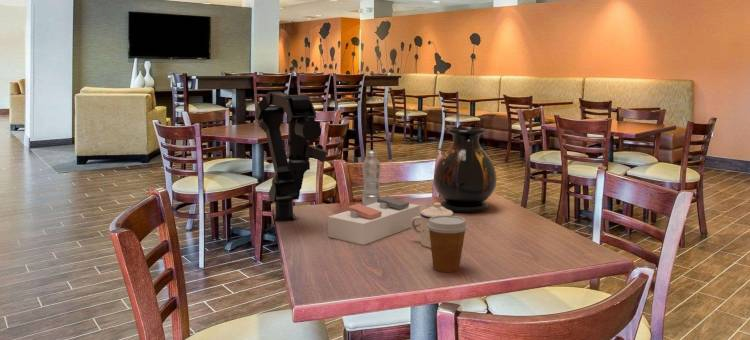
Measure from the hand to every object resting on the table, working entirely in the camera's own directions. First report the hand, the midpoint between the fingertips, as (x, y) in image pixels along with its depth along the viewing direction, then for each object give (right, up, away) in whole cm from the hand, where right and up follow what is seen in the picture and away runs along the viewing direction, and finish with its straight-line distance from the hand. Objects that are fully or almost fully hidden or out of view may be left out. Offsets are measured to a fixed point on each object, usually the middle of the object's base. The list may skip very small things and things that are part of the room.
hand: (299, 189), depth 171 cm
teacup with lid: (+38, -15, -14) cm, 43 cm away
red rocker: (+20, -7, -8) cm, 22 cm away
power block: (+23, -12, -1) cm, 26 cm away
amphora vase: (+54, -8, +28) cm, 61 cm away
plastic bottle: (+22, -8, +29) cm, 37 cm away
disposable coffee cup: (+40, -18, -34) cm, 55 cm away
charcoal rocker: (+28, -5, +3) cm, 29 cm away
